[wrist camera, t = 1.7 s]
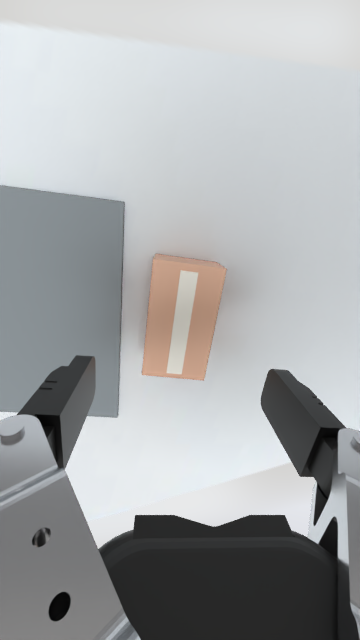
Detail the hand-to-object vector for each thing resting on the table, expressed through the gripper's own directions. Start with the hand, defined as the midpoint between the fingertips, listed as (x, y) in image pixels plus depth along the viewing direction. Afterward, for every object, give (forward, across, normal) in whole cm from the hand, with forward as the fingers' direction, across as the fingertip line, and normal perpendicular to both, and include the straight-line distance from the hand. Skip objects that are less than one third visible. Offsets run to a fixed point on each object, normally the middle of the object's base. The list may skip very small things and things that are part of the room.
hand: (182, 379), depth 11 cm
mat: (+11, +14, +2) cm, 17 cm away
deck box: (+11, 0, 0) cm, 11 cm away
